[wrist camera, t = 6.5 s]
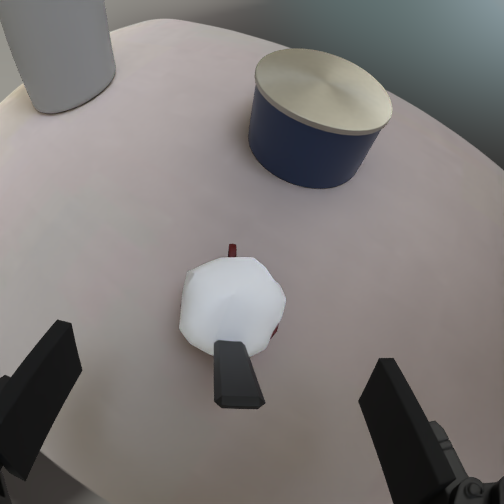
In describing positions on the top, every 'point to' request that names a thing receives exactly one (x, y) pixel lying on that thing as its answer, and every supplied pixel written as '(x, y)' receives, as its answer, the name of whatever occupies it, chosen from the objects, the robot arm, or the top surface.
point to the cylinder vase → (59, 50)
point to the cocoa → (232, 322)
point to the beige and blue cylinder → (314, 116)
